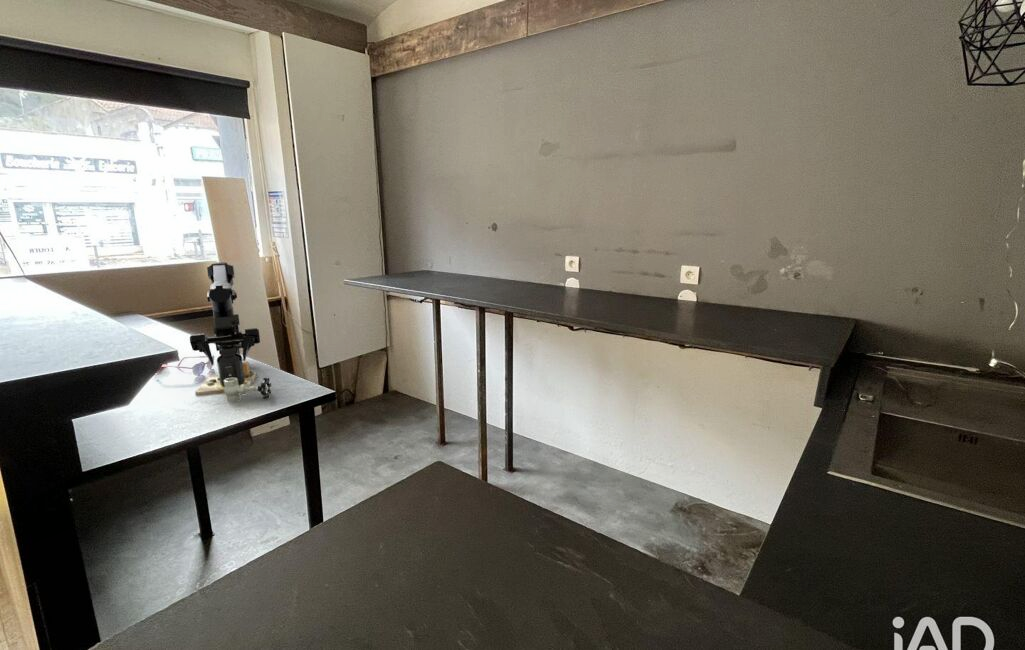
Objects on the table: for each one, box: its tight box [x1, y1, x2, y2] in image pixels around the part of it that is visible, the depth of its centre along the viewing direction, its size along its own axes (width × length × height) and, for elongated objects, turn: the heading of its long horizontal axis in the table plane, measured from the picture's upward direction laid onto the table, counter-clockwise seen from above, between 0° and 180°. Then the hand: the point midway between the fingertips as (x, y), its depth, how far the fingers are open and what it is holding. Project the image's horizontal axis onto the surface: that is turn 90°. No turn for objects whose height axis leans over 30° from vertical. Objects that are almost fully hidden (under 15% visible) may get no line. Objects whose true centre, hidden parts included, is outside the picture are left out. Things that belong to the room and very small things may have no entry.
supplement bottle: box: [216, 345, 245, 387], centre depth 151 cm, size 7×7×12 cm
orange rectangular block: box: [242, 359, 251, 375], centre depth 160 cm, size 3×3×5 cm
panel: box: [194, 370, 258, 397], centre depth 155 cm, size 16×14×2 cm
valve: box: [223, 377, 272, 404], centre depth 143 cm, size 7×7×12 cm
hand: (228, 362), depth 149 cm, fingers open, 8 cm apart
